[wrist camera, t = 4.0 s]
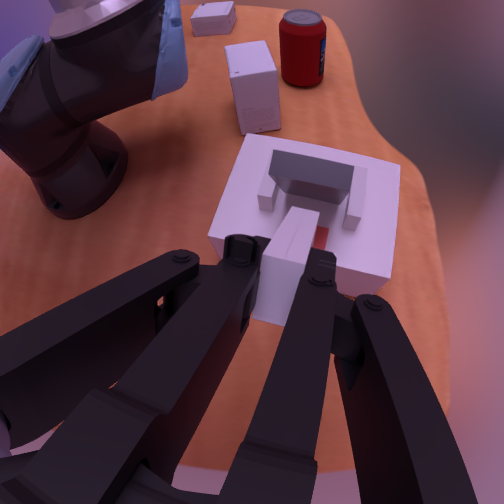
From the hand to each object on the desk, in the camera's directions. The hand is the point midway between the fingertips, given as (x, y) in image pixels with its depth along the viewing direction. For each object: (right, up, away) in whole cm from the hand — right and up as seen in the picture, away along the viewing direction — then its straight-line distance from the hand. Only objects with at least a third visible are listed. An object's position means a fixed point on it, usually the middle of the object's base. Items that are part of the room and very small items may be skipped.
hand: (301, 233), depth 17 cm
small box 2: (-2, +19, +26) cm, 32 cm away
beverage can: (+5, +27, +29) cm, 40 cm away
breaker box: (+4, +1, +19) cm, 19 cm away
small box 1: (-10, +46, +38) cm, 61 cm away
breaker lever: (+3, +4, +10) cm, 11 cm away
